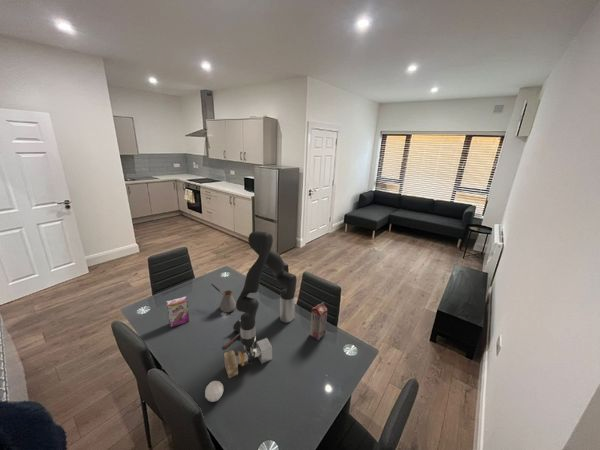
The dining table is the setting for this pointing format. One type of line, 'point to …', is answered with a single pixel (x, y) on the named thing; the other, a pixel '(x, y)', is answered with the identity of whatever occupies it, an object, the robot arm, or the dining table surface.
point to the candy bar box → (177, 311)
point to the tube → (246, 356)
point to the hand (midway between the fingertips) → (248, 359)
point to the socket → (231, 363)
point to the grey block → (264, 350)
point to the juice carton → (318, 321)
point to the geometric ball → (214, 391)
